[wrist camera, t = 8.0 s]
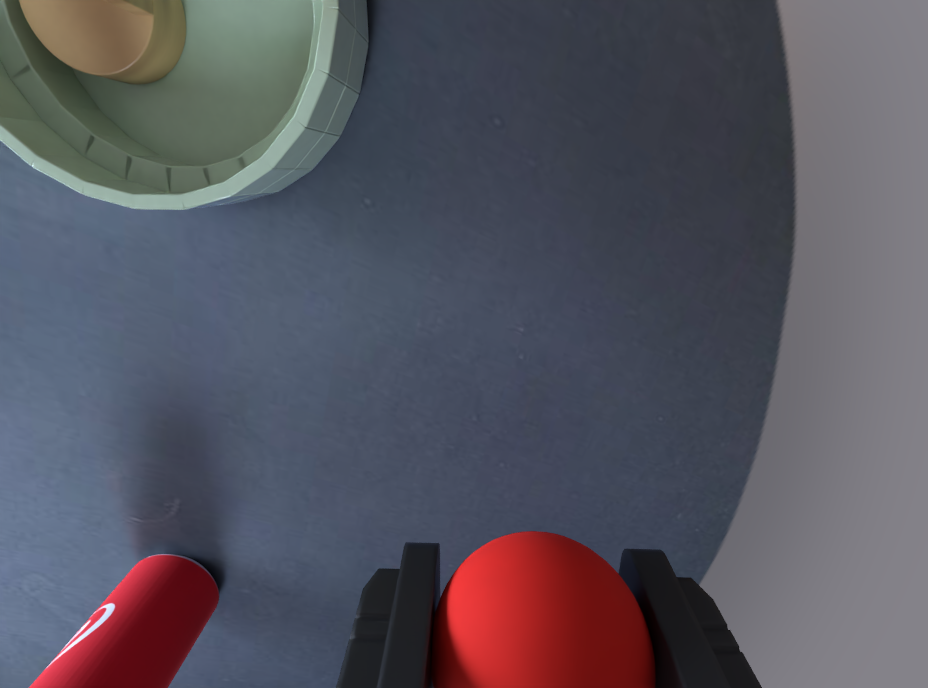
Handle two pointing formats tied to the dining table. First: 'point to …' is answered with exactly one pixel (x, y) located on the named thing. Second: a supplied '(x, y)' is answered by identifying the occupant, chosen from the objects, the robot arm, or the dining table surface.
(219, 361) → the dining table surface
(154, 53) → the ladle
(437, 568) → the robot arm
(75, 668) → the beverage can
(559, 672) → the cherry tomato
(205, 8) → the mixing bowl
